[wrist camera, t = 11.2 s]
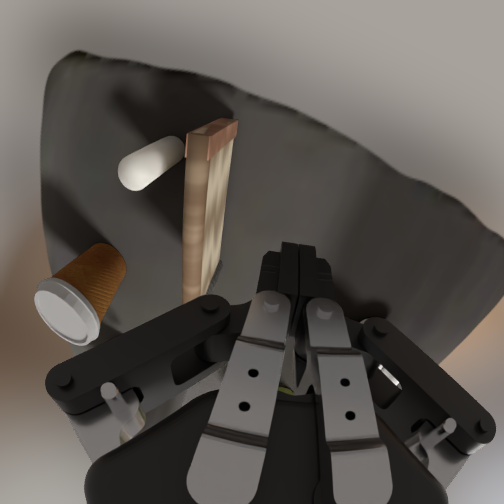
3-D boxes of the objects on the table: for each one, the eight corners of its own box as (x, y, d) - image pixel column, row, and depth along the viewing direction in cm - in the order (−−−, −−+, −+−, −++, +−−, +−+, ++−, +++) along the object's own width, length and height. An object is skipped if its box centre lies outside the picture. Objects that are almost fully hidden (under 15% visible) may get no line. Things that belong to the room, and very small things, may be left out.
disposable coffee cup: (122, 229, 34) (67, 288, 24) (145, 289, 39) (107, 353, 29) (72, 234, 36) (20, 285, 26) (97, 287, 40) (56, 342, 30)
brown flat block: (220, 260, 33) (197, 320, 25) (207, 257, 33) (180, 316, 25) (238, 120, 24) (209, 137, 16) (221, 117, 25) (184, 134, 16)
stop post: (187, 161, 28) (153, 189, 21) (161, 164, 29) (122, 192, 22) (182, 133, 27) (145, 152, 20) (156, 137, 27) (114, 158, 20)
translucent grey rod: (223, 270, 35) (195, 347, 25) (209, 270, 35) (177, 345, 25) (221, 257, 34) (190, 334, 24) (206, 257, 34) (171, 332, 24)
